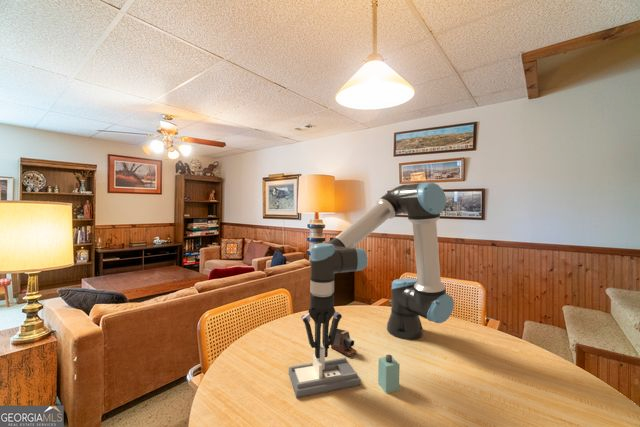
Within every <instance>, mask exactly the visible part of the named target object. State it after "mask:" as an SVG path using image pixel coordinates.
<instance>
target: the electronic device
mask: <svg viewBox="0 0 640 427" xmlns="http://www.w3.org/2000/svg"><path fill="white" fill-rule="evenodd" d="M354 346H355V340H353V339H351V337H350V332H349V331H348V330H344V329H341V328H337V331H336V336H335V340H334V344H333V345H330V348H331V349H333V350H335V351H338V352H339V353H340V354H344V355H345V356H346V357H347V358H350V357H351V356H353V355H355V354H356V353H357V352H358V351H357V350H356V349H355V348H354Z"/></svg>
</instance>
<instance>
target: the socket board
mask: <svg viewBox="0 0 640 427" xmlns="http://www.w3.org/2000/svg"><path fill="white" fill-rule="evenodd" d="M346 357H347V356H346ZM346 357H339V358H334V359H327V360H325V369H324V370H322V378H321V379H315V380H310V381H304V382H299V381H298V379H297V376H296V373H295V369H297V368H303V367H309V366H313V362H311V363H310V362H309V363H304V364H298V365H297V364H296V365H291V366H289V367H288V376H289V379H290V382H291V385H292V389H293V392H294V395H295V398H296V399H299V398H304V397H310V396H313V395H318V394H323V393H329V392H333V391H338V390H339V391H340V390H344V389H349V388H354V387H358V386H361V377H360V376H359V375H358V373H357V371H355V369H354V368H353V367H352V365H351V364H350V363H349V362H350V361H348V360H347V358H346Z"/></svg>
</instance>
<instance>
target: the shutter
mask: <svg viewBox="0 0 640 427" xmlns="http://www.w3.org/2000/svg"><path fill="white" fill-rule="evenodd" d="M312 363H313V366H309V367H303V368H297V369H295V373H296V376H297V379H298V381H299V382H304V381H310V380H315V379H321V378H322V364H321V362H320V360H319V359H317V358H316V356H315V353H312Z"/></svg>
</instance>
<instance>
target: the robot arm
mask: <svg viewBox="0 0 640 427" xmlns="http://www.w3.org/2000/svg"><path fill="white" fill-rule="evenodd" d="M446 206H447V196H446V193H445V192H444V190H443V188H442V187H441V186H440V185H439V184H437V183H434V182H421V183H411V184H402V185H399V186H397V187H395V188H393V189H391V190H390V191H388V192H386V193H385V194H384V195H382V196H381V197H380V198H379V199H378V200H377V201H376V204H375V205H374V206H373V207H371V208H370V209H369V210H367V211H366V212H365V213H364V214H362V216H360V217H358V219H356V220H355V221H354V222H352V223H351V224H350V225H349V226H347V227H346V228H345V229H344V230H342V231H341V232H340V233H339V234H338V235H336V236H334V237H333V238H332V239H331V240H329V241H328V242H321V243H319V242H318V243H315V244H314V243H313V244H312V245H311V247H310V248H311V249H310V258H309V260H310V277H309V278H310V279H309V280H310V284H309V285H310V286H309V292H310V294H309V295H310V296H309V309H308V311H307V312H308V313H307V314H306V315H302V316H301V320H302V321H303V323H304V326H305V331H306V334H307V339H308V344H309V346H310V347H311V349H314V354H315V356H316V358H317V359H319V360H320V362H321V364H322V370H324V369H325V361H326V358H328V357H329V356H328V355H329V354H328V352H329V350H328V349H329V348H330V347H331V345H333V344H334V340H335V336H336V331H337V329H338V327H339V322H340V321H341V319H342V317H343V315H342V314H341V313H340V312H339V311H336V309H335V307H334V306H335V294H334V293H335V274H339V273H340V274H342V273H350V272H358V271H363V270H364V269H366V267H367V265H368V260H369V259H368V258H369V257H368V253H367V252H366V250H365V249H363V248H361V247H359V248H358V247H356V246H357V245H358V244H359V243H361V242H362V241H364V240H365V238H367V237H368V236H369V235H371V233H373V232H374V231H375V230H377V228H379V227H380V226H381V225H383V224H384V223H385V222H386V221H387V220H388V219H394V218H395V217H396V216H397V215H400V214H407V220H408V221H409V222H410V223H412V230H413V231H412V232H413V243H414V245H413V246H414V253H415V267H416V269H415V270H416V278H417V279H416V278H397V279H394V280H393V281H391V288H390V289H391V290H390V291H391V292H390V293H391V296H390V297H391V299H390V300H391V303H390V304H391V307H390V308H391V310H390V311H391V312H390V315H389V317H388V321H387V323H386V330H387V332H388V333H389V334H391V336H395V337H396V338H399V339H404V340H405V339H406V340H416V339H417V340H418V339H419V338H421V337H422V336H423V332H424V331H423V330H424V328H423V325H422V322H421V319H420V317H421V318H424V319H426V320H427V321H429V322H433V323H435V324H443V323H445V322H446V321H447V320H449V318H450V316H451V315H452V313H453V311H454V306H455V303H454V299H453V297H452V296H451V295H450V294H448V293H447V289H446V285H445V283H443V282H442V280H441V277H442V276H441V265H440V254H439V241H438V228H437V221H438V220H439V219H440V218H441V213H442V212H444V210H445V207H446ZM311 319H312V321H313V323H314V335H313V331H312V327H311V323H310V322H311ZM331 319H332V320H331ZM330 321H331V325H330ZM329 327H330V328H329ZM321 330H322V331H321ZM321 332H322V335H321ZM321 336H322V339H321ZM321 340H322V344H321Z"/></svg>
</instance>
